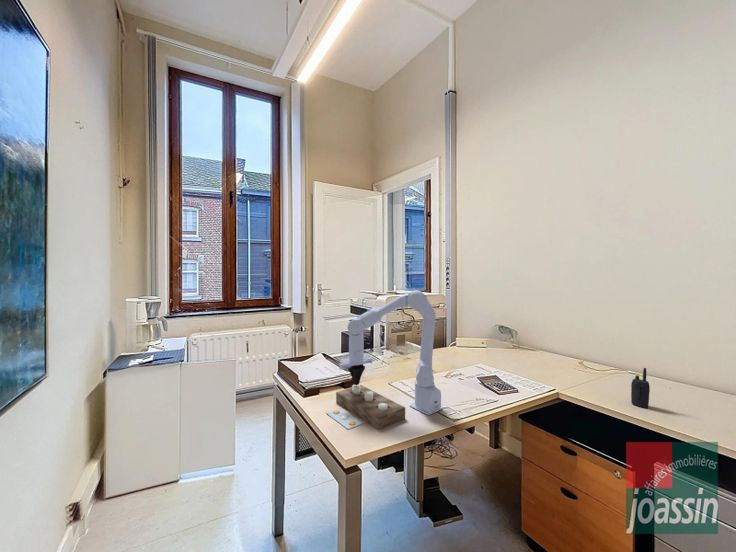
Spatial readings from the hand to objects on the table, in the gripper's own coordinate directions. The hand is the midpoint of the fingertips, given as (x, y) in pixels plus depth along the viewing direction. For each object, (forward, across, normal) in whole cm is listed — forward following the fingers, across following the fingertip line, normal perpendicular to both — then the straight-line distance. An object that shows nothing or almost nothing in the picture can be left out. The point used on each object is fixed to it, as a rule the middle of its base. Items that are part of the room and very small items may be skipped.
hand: (356, 384), depth 124 cm
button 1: (+5, 0, 0) cm, 5 cm away
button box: (+7, 0, +8) cm, 11 cm away
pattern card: (+7, +11, +8) cm, 15 cm away
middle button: (+5, 0, +8) cm, 9 cm away
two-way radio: (+7, -84, +68) cm, 108 cm away
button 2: (+6, 0, +16) cm, 17 cm away
